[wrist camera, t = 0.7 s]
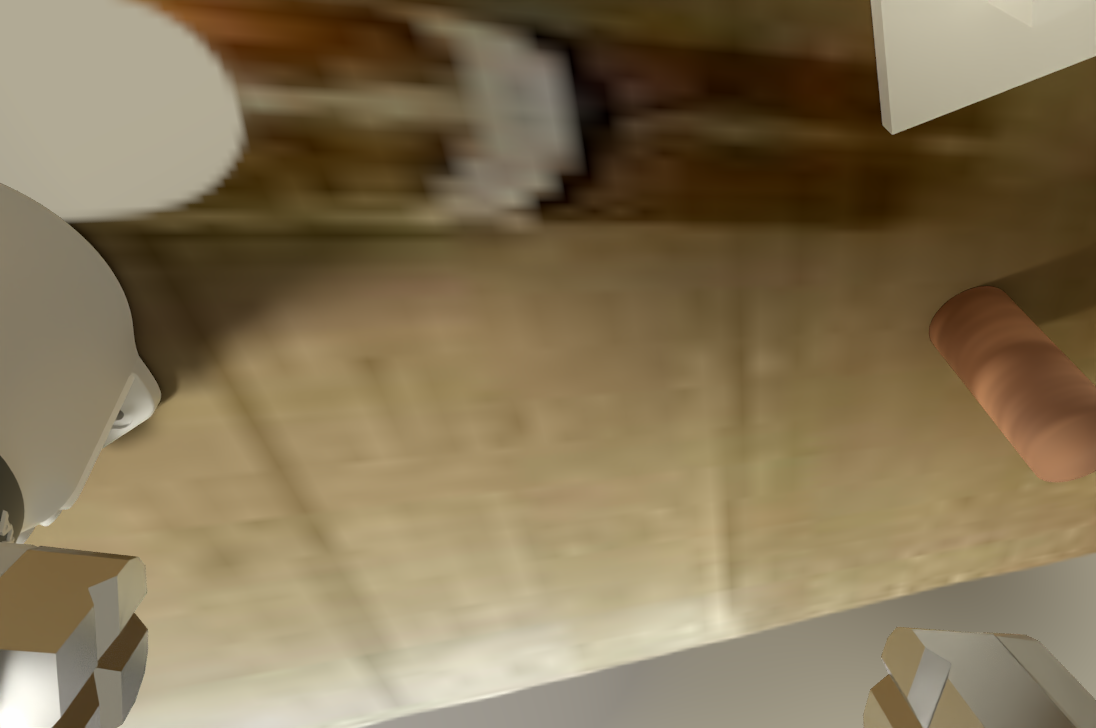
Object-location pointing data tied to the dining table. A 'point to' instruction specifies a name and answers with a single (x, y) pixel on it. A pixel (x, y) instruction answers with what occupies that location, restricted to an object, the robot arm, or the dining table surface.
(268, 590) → the dining table surface
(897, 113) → the awning socket
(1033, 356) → the peg
